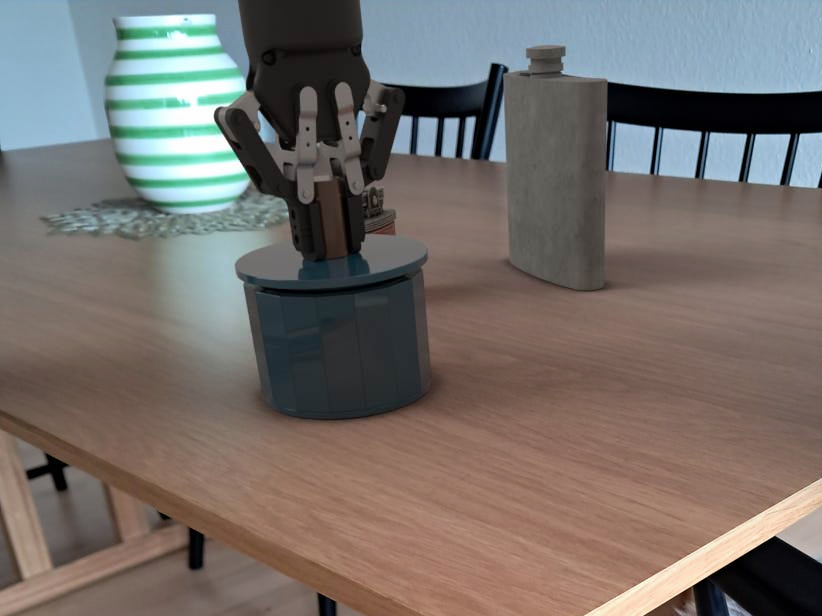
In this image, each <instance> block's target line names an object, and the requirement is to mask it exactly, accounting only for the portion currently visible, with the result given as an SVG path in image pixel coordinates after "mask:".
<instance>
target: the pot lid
mask: <svg viewBox="0 0 822 616" xmlns="http://www.w3.org/2000/svg"><path fill="white" fill-rule="evenodd" d="M312 202H314V203H318V208H319V215H320V223H321V231H322V239H323V246H324V254H325V256H324V259H323V260H318V261H310V260H307V259H304V258H303V257H302V255H301V252H299V251H296V249H295V247H294V245H293V241H292V240H287V241H283V242H278V243H273V244H270V245H266V246H262V247H260V248H257V249H254V250H251V251H249V252H247V253H245V254H243V255H241V256H240V257H239V258H238V259H237V260H236V261H235V262H234V270H235V275H236V277H237V278H238V279H239V280H240V281H242V282H243V283H244V282H246V283H249V284H252V285H257V286H261V287H268V288H278V289H288V290H297V291H327V290H340V289H348V288H355V287H361V286H366V285H370V284H374V283H378V282H381V281H384V280H387V279H391V278H395V277H398V276H401V275H404V274H407V273H410V272H412V271H414V270H416V269H418V268H420V267H421V266H422V267H423V266H424V265H425V264H426V263H428V260H429V248H428V246H427V245H426V244H425V243H423V242H422V241H420V240H417V239H414V238H410V237H406V236H401V235H396V236H393V235H381V234H366V235H365V240H364V242H361V251H360V252H355V253H349V251H348V243H347V234H346V226H345V217H344V208H343V200H342V191H341V183H340V177H338V176H333V175H329V174H327V175H316V176H315V175H314V198H313V200H312Z"/></svg>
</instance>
